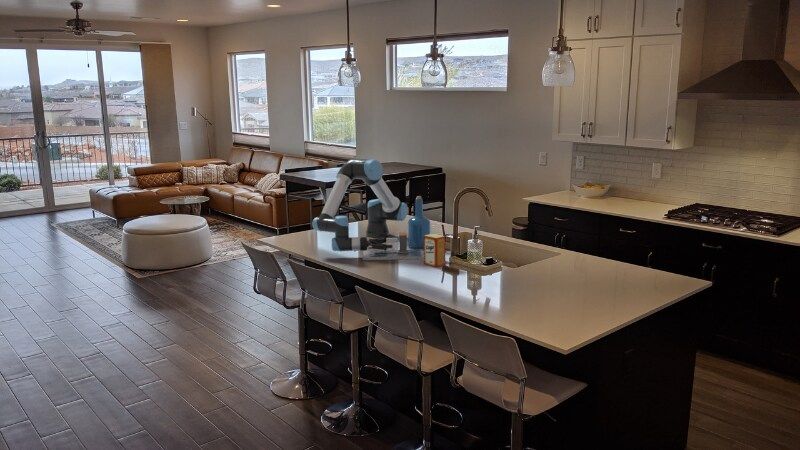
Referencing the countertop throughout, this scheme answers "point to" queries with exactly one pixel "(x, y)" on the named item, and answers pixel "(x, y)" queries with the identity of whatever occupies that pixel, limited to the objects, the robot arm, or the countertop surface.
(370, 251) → the panel
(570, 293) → the countertop surface
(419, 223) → the wine bottle
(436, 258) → the baking soda box
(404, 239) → the breaker handle
